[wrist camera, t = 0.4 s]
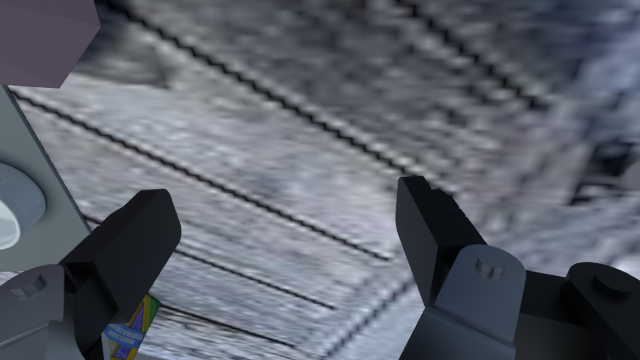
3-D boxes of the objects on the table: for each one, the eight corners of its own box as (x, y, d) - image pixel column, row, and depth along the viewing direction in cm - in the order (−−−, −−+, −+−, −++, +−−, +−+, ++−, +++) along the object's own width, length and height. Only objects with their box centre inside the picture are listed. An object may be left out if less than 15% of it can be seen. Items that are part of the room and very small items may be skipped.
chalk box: (109, 265, 38) (7, 396, 26) (164, 303, 42) (99, 432, 30) (66, 291, 41) (-47, 421, 28) (121, 324, 45) (45, 452, 32)
